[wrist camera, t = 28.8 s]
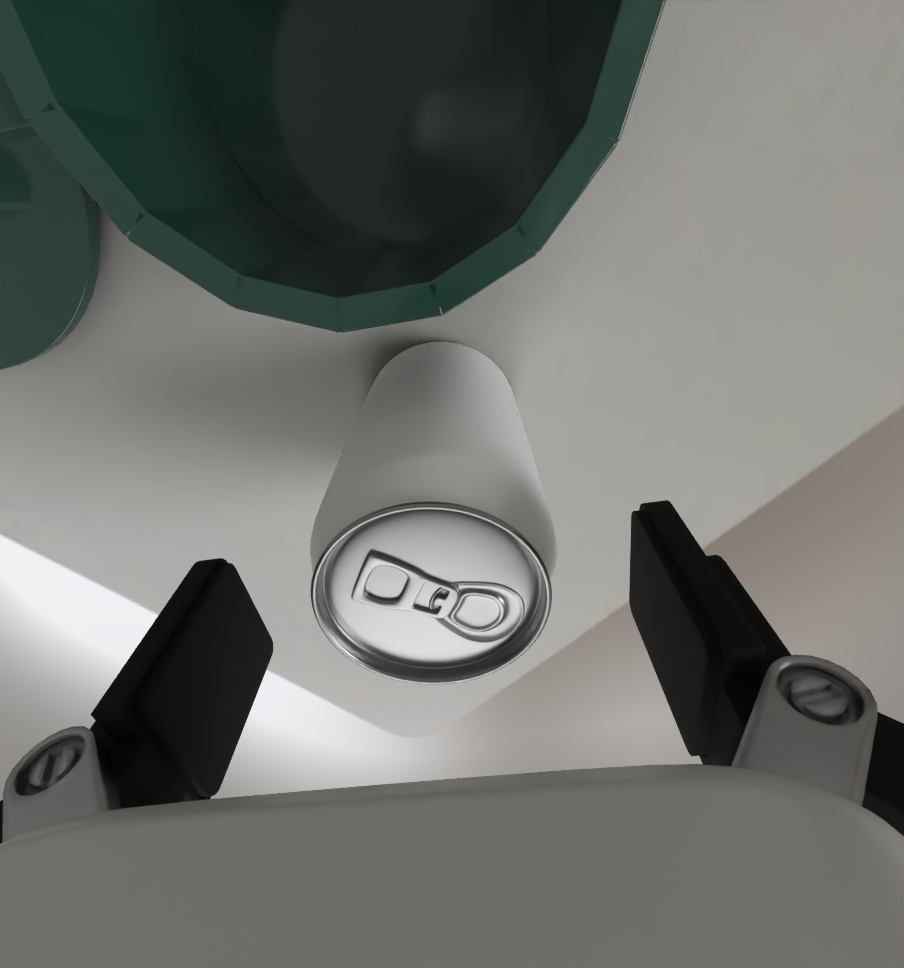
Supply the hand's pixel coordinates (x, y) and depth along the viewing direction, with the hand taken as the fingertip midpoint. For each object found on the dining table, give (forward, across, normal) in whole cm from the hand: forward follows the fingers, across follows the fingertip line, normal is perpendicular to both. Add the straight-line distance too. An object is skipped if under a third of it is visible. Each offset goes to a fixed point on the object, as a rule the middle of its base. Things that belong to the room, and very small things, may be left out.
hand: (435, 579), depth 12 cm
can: (+12, 0, +1) cm, 12 cm away
